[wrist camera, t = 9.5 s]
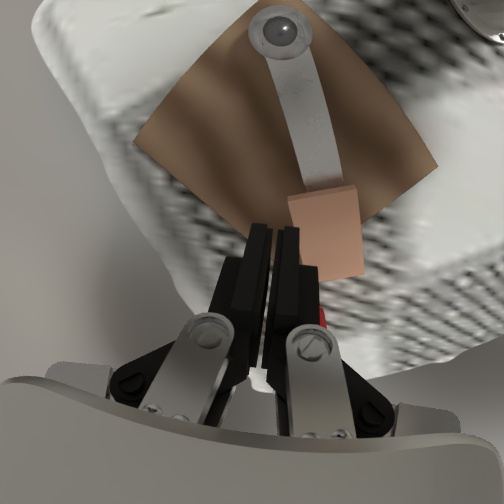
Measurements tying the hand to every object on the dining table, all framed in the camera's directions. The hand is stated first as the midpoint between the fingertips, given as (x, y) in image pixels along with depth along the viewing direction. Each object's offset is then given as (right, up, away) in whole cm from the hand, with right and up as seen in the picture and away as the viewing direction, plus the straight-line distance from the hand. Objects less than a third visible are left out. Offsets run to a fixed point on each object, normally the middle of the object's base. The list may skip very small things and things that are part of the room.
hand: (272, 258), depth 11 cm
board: (+3, +11, +17) cm, 21 cm away
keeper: (+7, +5, +21) cm, 23 cm away
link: (+4, +13, +14) cm, 19 cm away
